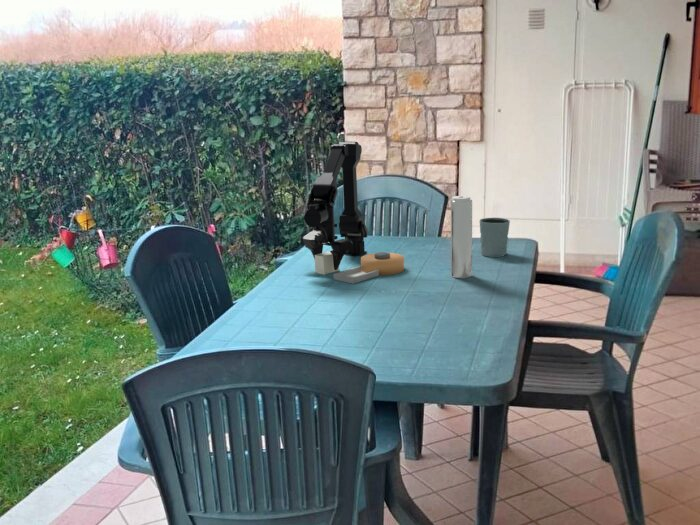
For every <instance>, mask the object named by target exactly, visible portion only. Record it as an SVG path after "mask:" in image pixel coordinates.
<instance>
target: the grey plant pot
mask: <svg viewBox="0 0 700 525" xmlns="http://www.w3.org/2000/svg"><path fill="white" fill-rule="evenodd" d="M510 222H511V221H510V220H509V219H508V218H502V217H485V218H481V219H479V233H480V254H482V255H481V256H483V257H486V256H489V257H488V258H498V257H497V256H502V257H504V256H503V255H505V256H506V255H507V249H508V248H507V247H508V246H507V245H508V239H509V236H508V235H509V230H510Z"/></svg>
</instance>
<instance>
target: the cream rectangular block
mask: <svg viewBox="0 0 700 525" xmlns="http://www.w3.org/2000/svg"><path fill="white" fill-rule="evenodd" d="M330 251H331V250H328V251H324V252H322V253H320V254H317V255H315V259H314V270H315V274H320V275H325V276H326V275H327V274H331V273H336V272H338V271H340V266H339V267H338V269H337V270H334V264H333V255H332V253H331V252H330Z"/></svg>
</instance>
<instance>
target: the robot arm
mask: <svg viewBox="0 0 700 525" xmlns="http://www.w3.org/2000/svg"><path fill="white" fill-rule="evenodd" d="M362 151H363V148H362V145H361V144H359V142H358V141H339V142H338V143H334V144H331V146H330V154H328V156H329V157H328V158H327V161H326V164H325V167H324V170H323V172H322V174H321V175H320V176H319V177H317V178H316V179H315V181H314V183H313V184H312V186H311V189H310V194H309V197H308V202H307V204H308V206H309V209H308V210H306V211H305V213H304V216H303V220H304V222H305V224H306V225H307V226H308V227H311V228H312V229H313V230H311V231H310V232H308V233H307V234H304V235H302V236H301V237H300V245H301V246H302V245H303V246H304V247H305V248H306V249H308V250H309V251H310V252H311V255H312V256H313V259H314V260H315V255H317V254H320V253H323V250H324V246H328V247H329V246H330V247H331V250H329V251H330V252H331V253H332V255H333V264H334V270H337V269H338V267H339V268H340V264H341V262H342V259H343V258H344V255H348V256H353V257H356V256H361V255H365V254H367V253H368V251H367V250H365V241H364V238H365V239H366V238H368V233H369V231H368V230H369V229H368V228H367V225H366V223H365V221H364V216H363V214H362V212H361V211H360V209H359V206H358V204H359V202H358V182H357V181H358V180H357V167H358V164H359V163H360V161H361V156H362ZM341 169H342V184H343V185H342V187H343V190H342V191H343V211H342V213H341V214H340V215H339V217H338V218H339V221H338V222H339V223H336V222H335V205H336V203H335V202H336V198H337V196H338V186H337V180H338V177H339V175H340V171H341ZM337 227H338V229H339V235H340V238H341V239H339V238H338V235H336V234H335V233H336V232H335V228H337Z"/></svg>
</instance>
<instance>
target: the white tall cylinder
mask: <svg viewBox="0 0 700 525" xmlns="http://www.w3.org/2000/svg"><path fill="white" fill-rule="evenodd" d="M450 276H451V277H452V278H455V279H468V278H469V279H470V278H471V277H472V276H473V199H471V196H468V195H454V196H452V197H451V199H450Z"/></svg>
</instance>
